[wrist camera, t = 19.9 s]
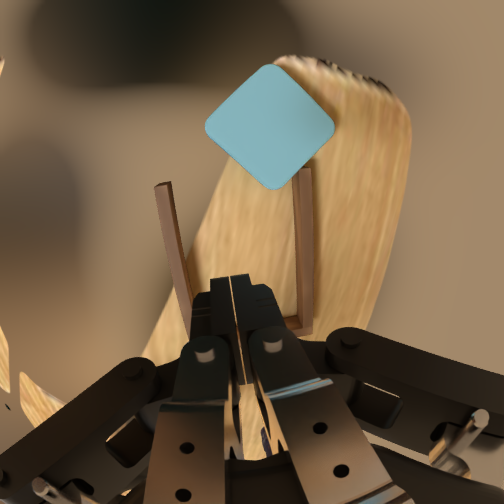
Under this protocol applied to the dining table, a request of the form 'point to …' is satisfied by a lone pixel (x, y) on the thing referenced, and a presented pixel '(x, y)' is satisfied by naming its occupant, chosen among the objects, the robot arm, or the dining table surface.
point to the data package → (270, 126)
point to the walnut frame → (303, 247)
